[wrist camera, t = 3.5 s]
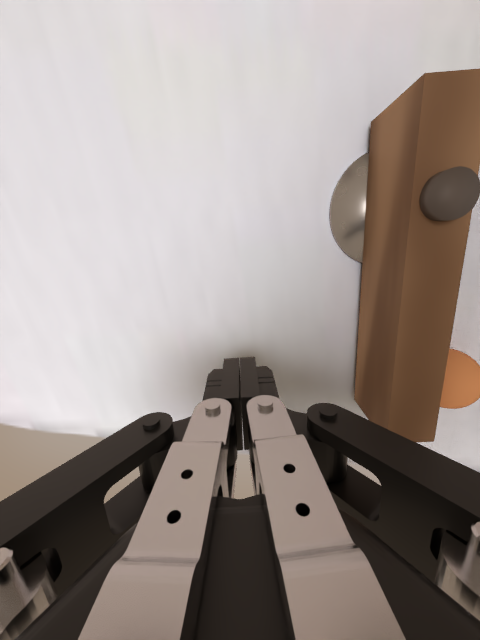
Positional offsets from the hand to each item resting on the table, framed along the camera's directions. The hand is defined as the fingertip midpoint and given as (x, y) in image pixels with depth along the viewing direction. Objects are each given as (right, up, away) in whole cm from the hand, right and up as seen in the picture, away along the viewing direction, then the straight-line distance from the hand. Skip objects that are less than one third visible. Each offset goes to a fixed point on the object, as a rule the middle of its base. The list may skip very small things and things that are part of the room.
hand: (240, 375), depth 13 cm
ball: (+12, 0, +4) cm, 13 cm away
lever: (+8, +5, +2) cm, 10 cm away
